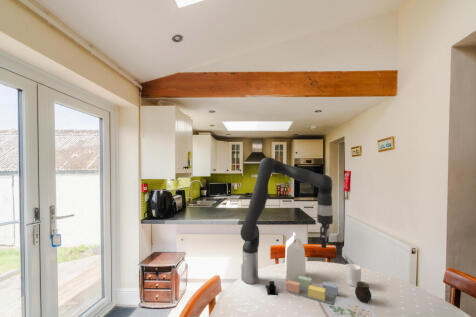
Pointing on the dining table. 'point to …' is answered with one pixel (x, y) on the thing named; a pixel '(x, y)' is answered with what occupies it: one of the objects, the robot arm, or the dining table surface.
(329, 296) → the mat
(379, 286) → the dining table surface
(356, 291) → the mate gourd
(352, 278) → the white cup
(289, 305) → the dining table surface
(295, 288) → the terracotta block
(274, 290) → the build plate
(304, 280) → the green block
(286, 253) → the milk
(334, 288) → the blue block
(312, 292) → the mustard block
